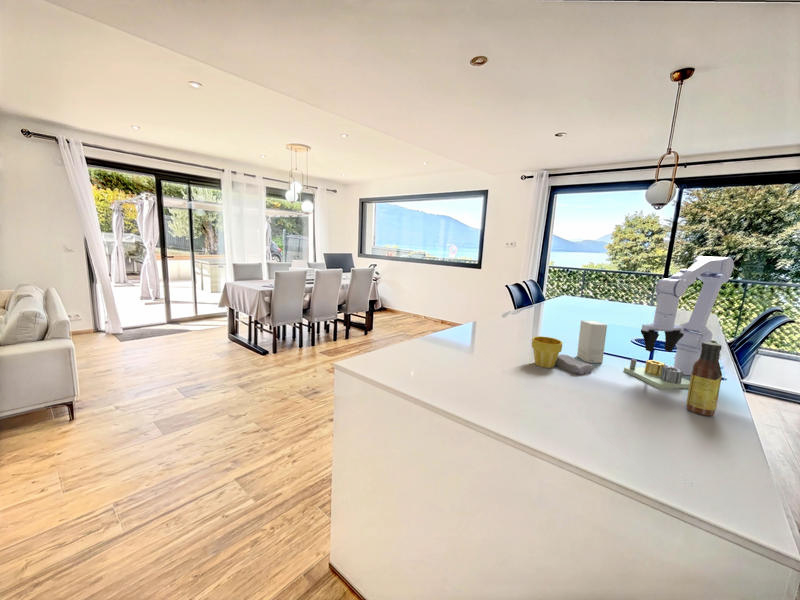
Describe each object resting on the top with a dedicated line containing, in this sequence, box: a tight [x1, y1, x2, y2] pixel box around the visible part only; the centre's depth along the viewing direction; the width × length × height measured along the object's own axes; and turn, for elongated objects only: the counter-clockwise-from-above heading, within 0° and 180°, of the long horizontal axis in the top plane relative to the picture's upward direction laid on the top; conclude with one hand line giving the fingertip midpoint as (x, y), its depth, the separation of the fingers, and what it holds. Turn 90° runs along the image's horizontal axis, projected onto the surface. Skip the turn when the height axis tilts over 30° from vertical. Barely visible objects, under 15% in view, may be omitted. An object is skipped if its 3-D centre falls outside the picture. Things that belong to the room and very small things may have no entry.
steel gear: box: [660, 365, 684, 384], centre depth 113 cm, size 5×5×4 cm
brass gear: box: [644, 359, 666, 376], centre depth 120 cm, size 5×5×4 cm
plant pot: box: [531, 335, 563, 369], centre depth 126 cm, size 10×10×10 cm
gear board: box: [623, 358, 690, 390], centre depth 118 cm, size 14×15×6 cm
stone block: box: [554, 354, 593, 376], centre depth 125 cm, size 12×5×10 cm
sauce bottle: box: [685, 341, 723, 417], centre depth 94 cm, size 6×6×20 cm
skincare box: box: [576, 320, 608, 364], centre depth 135 cm, size 8×7×16 cm
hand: (658, 351), depth 119 cm, fingers open, 7 cm apart
